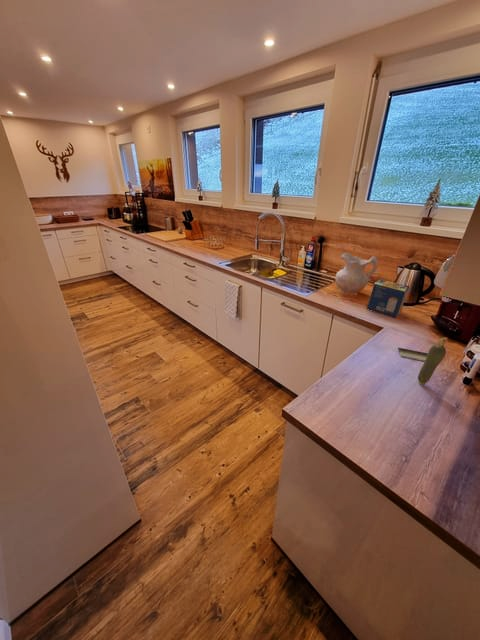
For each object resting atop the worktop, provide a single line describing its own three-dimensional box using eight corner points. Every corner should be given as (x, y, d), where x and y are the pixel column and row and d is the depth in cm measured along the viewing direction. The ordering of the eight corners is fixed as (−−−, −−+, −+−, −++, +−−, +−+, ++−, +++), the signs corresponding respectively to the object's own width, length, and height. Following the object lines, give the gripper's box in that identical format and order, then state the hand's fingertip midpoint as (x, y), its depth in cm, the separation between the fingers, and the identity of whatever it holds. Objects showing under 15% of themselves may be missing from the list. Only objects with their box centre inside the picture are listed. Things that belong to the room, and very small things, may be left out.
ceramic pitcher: (365, 290, 176) (374, 253, 165) (371, 300, 158) (382, 258, 148) (331, 287, 180) (338, 250, 169) (334, 295, 162) (342, 255, 152)
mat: (429, 349, 113) (430, 348, 113) (436, 364, 104) (437, 362, 104) (396, 342, 117) (396, 341, 117) (400, 356, 108) (401, 355, 107)
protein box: (371, 303, 154) (379, 278, 147) (400, 312, 145) (410, 286, 138) (365, 309, 147) (373, 283, 140) (395, 318, 138) (405, 291, 131)
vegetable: (414, 377, 96) (436, 331, 87) (428, 381, 94) (451, 334, 85) (416, 385, 93) (438, 337, 83) (430, 389, 91) (454, 340, 81)
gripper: (460, 258, 67) (439, 306, 73) (520, 256, 71) (495, 302, 78) (438, 251, 72) (420, 298, 79) (496, 250, 76) (474, 294, 83)
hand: (458, 300), depth 78 cm, fingers open, 8 cm apart
